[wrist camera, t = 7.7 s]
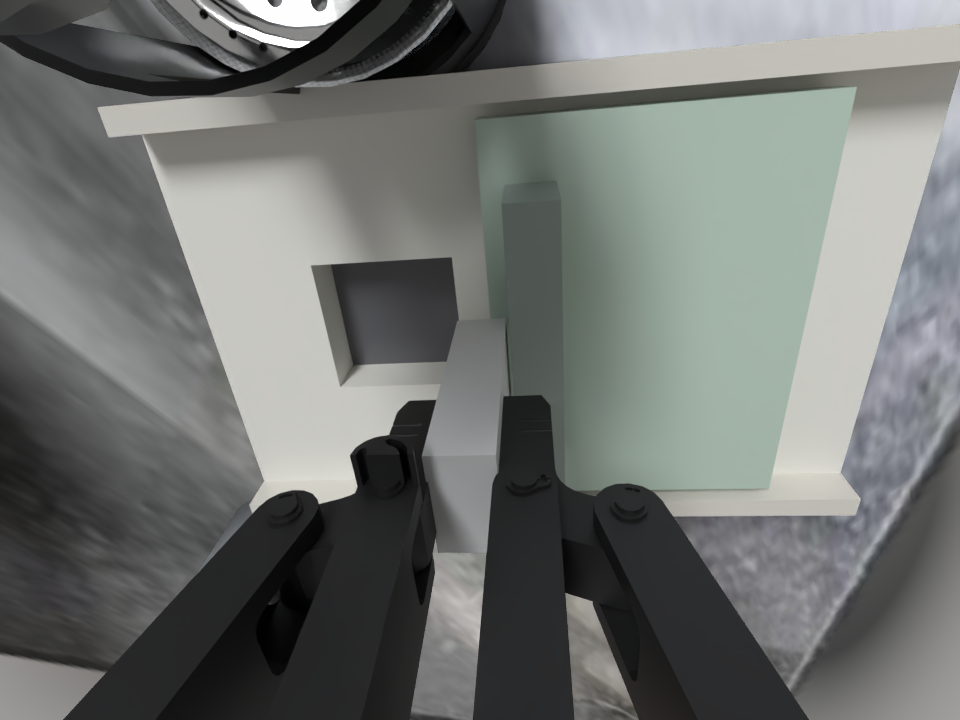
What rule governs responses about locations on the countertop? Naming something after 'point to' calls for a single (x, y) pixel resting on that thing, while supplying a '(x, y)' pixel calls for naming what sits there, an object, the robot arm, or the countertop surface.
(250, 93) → the french press
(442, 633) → the countertop surface
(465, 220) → the housing
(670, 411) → the lid
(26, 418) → the countertop surface
